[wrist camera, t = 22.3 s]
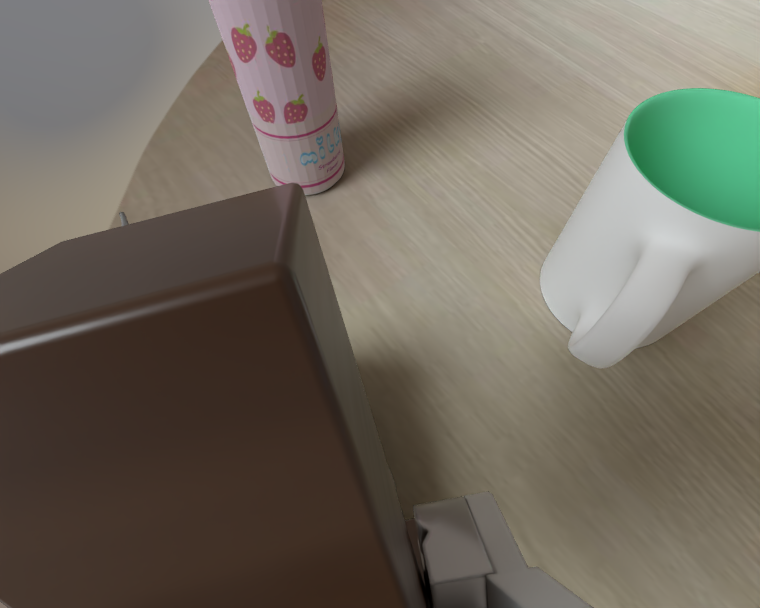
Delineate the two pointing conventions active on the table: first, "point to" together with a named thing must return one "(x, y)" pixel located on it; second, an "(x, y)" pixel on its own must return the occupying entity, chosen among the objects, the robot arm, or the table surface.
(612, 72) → the table surface
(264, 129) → the beverage can
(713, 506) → the table surface
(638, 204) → the mug
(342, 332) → the brush
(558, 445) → the table surface
